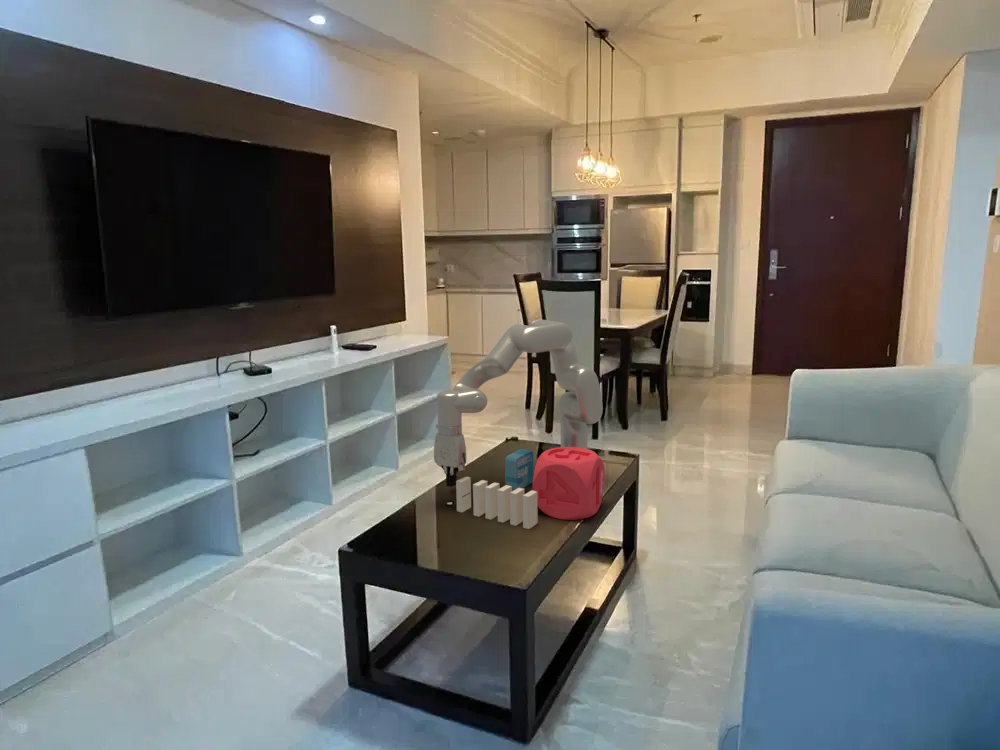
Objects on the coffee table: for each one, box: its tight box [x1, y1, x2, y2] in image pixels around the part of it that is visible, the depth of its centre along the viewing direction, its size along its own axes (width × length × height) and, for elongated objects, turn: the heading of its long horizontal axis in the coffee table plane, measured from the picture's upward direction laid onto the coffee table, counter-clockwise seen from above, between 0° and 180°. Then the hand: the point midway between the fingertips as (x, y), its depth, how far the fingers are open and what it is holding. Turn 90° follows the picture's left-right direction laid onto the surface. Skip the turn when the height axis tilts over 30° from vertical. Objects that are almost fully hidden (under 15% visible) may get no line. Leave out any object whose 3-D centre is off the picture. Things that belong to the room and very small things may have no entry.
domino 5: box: [509, 488, 526, 527], centre depth 200 cm, size 2×5×10 cm, turn 147°
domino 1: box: [455, 476, 472, 513], centre depth 210 cm, size 2×5×10 cm, turn 147°
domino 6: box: [522, 490, 539, 530], centre depth 197 cm, size 2×5×10 cm, turn 147°
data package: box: [504, 448, 534, 491], centre depth 231 cm, size 12×4×12 cm, turn 148°
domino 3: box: [484, 482, 501, 521], centre depth 204 cm, size 2×5×10 cm, turn 147°
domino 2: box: [472, 479, 489, 517], centre depth 207 cm, size 2×5×10 cm, turn 147°
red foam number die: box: [532, 446, 606, 521], centre depth 209 cm, size 18×18×18 cm
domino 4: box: [497, 485, 513, 523], centre depth 202 cm, size 2×5×10 cm, turn 147°
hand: (451, 485), depth 213 cm, fingers closed
